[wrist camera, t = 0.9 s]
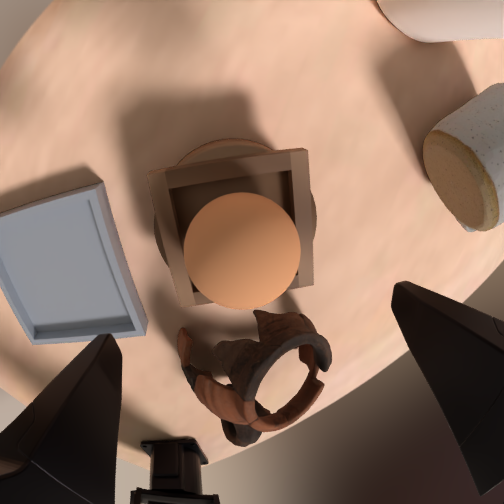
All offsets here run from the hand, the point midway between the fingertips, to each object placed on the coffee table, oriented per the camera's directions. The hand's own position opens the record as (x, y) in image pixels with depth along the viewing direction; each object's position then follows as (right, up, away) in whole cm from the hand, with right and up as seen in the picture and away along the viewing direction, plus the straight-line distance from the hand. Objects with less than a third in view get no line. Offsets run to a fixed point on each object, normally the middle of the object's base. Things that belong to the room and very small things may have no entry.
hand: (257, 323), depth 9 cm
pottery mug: (-1, -5, +14) cm, 15 cm away
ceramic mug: (+15, +9, +9) cm, 20 cm away
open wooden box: (-1, +5, +9) cm, 10 cm away
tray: (-13, +1, +9) cm, 16 cm away
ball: (-1, +2, +4) cm, 5 cm away
